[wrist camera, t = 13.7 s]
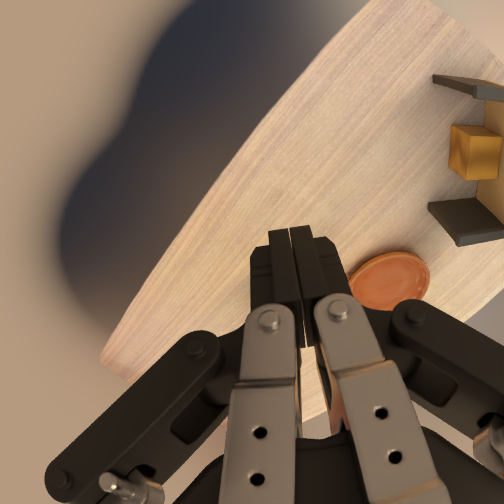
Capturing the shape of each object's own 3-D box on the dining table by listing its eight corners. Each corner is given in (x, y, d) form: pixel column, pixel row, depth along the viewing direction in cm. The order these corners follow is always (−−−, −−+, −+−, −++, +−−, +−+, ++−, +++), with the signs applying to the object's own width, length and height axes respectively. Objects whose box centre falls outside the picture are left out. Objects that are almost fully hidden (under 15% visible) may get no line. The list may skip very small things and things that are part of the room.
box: (451, 125, 34) (470, 135, 30) (482, 126, 33) (502, 137, 29) (448, 166, 38) (465, 180, 34) (478, 165, 37) (497, 179, 33)
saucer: (358, 324, 57) (362, 335, 55) (325, 273, 50) (329, 286, 47) (430, 287, 52) (436, 298, 50) (411, 227, 44) (419, 238, 42)
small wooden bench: (427, 210, 42) (479, 277, 30) (432, 73, 30) (514, 98, 17) (479, 204, 41) (534, 262, 28) (490, 80, 29) (569, 111, 16)
